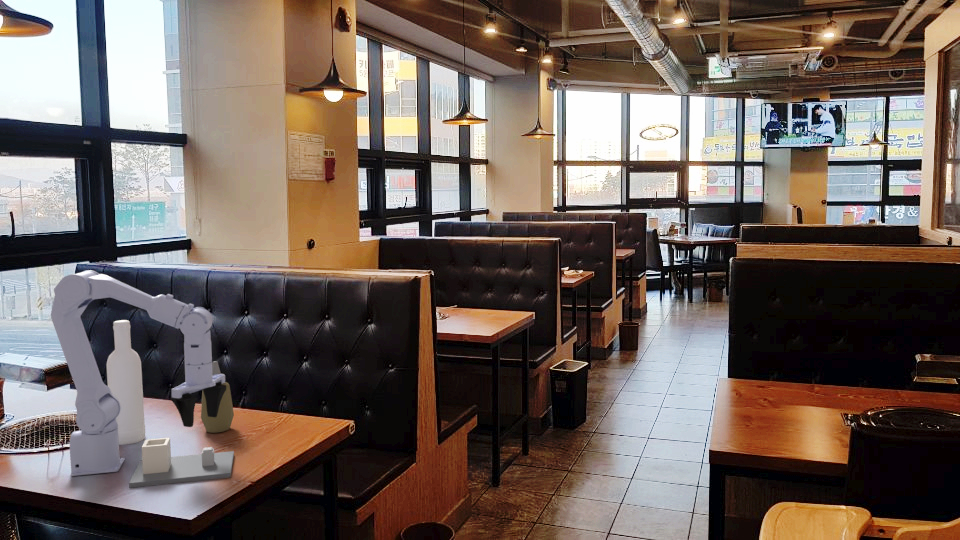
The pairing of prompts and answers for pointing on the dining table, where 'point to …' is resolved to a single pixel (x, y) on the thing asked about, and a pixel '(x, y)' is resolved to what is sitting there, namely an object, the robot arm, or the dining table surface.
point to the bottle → (126, 385)
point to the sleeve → (156, 455)
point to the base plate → (188, 469)
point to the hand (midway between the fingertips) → (200, 421)
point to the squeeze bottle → (225, 408)
